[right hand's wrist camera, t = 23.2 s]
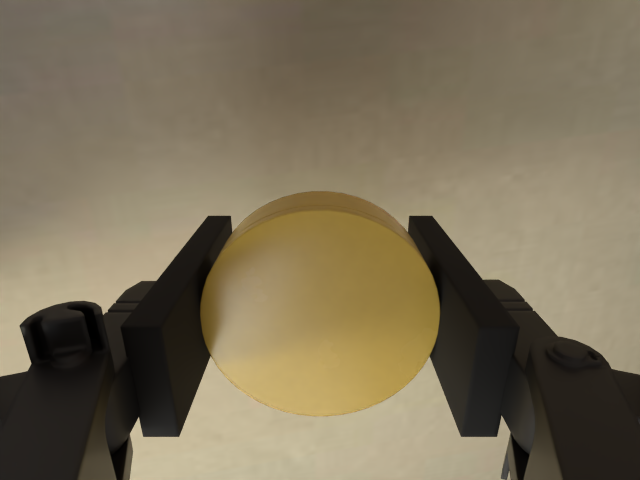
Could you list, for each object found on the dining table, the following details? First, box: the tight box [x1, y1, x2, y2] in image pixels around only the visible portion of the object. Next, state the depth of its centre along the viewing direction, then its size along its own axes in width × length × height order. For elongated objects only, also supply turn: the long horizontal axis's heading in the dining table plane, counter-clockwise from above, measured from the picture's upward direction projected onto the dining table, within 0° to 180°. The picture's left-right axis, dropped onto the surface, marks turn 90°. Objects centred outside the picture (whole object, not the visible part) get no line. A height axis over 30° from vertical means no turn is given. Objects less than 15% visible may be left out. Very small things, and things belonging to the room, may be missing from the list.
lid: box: [200, 191, 440, 416], centre depth 11 cm, size 6×6×2 cm
